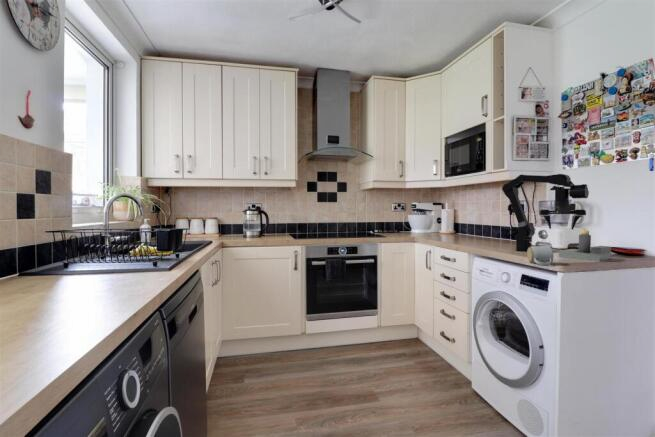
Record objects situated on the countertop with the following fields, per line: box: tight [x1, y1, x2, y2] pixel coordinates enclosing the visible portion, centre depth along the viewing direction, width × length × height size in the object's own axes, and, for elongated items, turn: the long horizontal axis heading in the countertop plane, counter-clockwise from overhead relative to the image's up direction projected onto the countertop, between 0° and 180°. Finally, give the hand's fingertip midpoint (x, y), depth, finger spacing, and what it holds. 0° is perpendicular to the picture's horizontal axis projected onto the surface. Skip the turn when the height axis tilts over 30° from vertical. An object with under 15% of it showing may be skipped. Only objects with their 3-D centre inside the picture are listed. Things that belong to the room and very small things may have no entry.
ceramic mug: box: [526, 245, 554, 267], centre depth 134 cm, size 11×8×8 cm
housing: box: [558, 245, 612, 262], centre depth 149 cm, size 16×12×6 cm
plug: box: [578, 230, 592, 253], centre depth 149 cm, size 5×5×13 cm
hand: (561, 229), depth 160 cm, fingers open, 9 cm apart
